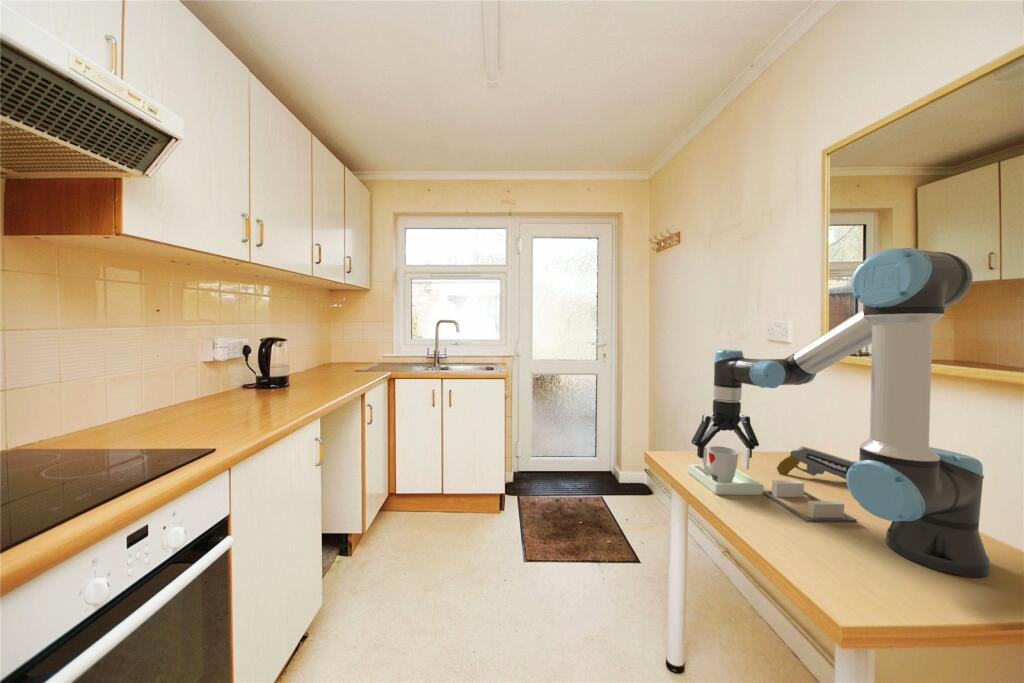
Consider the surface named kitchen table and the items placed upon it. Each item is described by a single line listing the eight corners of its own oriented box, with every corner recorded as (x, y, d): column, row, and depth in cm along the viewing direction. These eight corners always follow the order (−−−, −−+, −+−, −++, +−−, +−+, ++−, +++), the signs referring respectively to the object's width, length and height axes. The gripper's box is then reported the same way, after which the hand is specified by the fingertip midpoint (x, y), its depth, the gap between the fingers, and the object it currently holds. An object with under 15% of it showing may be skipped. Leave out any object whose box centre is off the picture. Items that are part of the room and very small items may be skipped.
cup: (707, 475, 127) (708, 444, 126) (735, 479, 123) (737, 448, 123) (707, 484, 119) (708, 451, 119) (737, 489, 116) (739, 456, 115)
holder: (856, 521, 99) (857, 506, 98) (806, 521, 98) (807, 506, 98) (803, 492, 116) (804, 479, 115) (760, 492, 115) (761, 479, 115)
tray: (762, 494, 113) (763, 484, 113) (715, 494, 113) (716, 484, 113) (729, 473, 129) (730, 464, 129) (688, 473, 129) (688, 464, 129)
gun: (861, 513, 121) (887, 472, 119) (776, 473, 129) (798, 433, 127) (856, 509, 124) (881, 468, 122) (773, 469, 132) (795, 431, 130)
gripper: (757, 398, 124) (754, 463, 125) (681, 397, 123) (679, 463, 124) (774, 402, 117) (771, 472, 118) (693, 402, 116) (690, 472, 117)
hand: (723, 468), depth 121 cm, fingers open, 13 cm apart
